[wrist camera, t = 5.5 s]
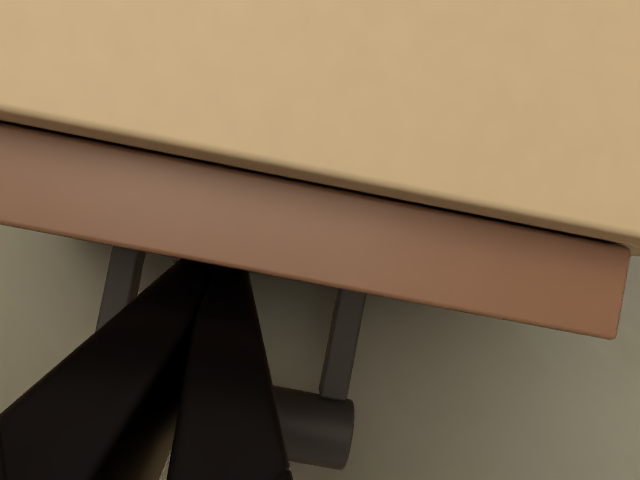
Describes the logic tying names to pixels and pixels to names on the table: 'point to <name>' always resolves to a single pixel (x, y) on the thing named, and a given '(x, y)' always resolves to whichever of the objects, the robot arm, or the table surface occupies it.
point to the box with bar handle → (304, 253)
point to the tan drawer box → (356, 96)
